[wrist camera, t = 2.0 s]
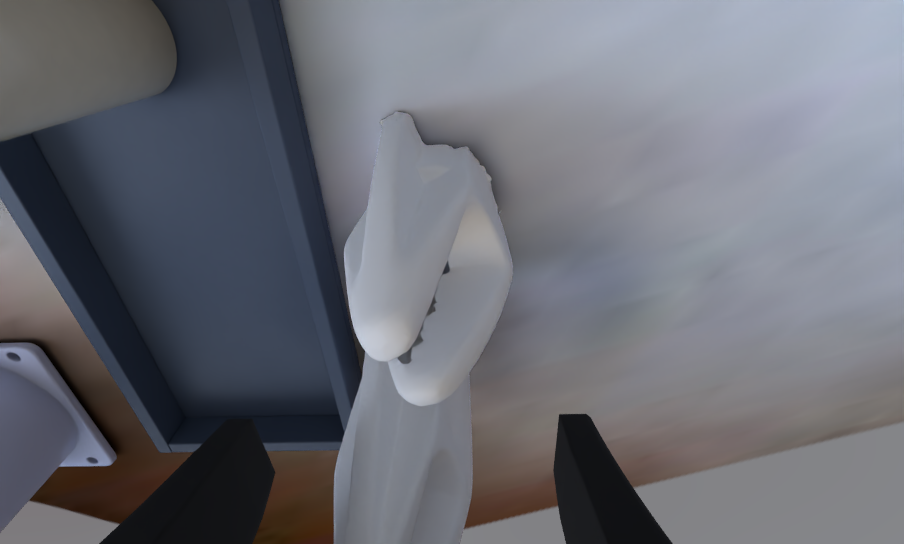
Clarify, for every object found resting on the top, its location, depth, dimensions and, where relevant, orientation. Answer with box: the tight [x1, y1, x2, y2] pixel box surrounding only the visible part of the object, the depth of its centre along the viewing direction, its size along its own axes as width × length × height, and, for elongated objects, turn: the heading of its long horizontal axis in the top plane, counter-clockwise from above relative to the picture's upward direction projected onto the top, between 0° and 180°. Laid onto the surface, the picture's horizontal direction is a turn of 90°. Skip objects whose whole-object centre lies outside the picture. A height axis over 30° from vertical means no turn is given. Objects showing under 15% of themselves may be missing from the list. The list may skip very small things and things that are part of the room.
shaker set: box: [334, 111, 513, 544], centre depth 12 cm, size 12×4×11 cm, turn 173°
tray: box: [0, 0, 362, 453], centre depth 14 cm, size 9×23×2 cm, turn 3°
